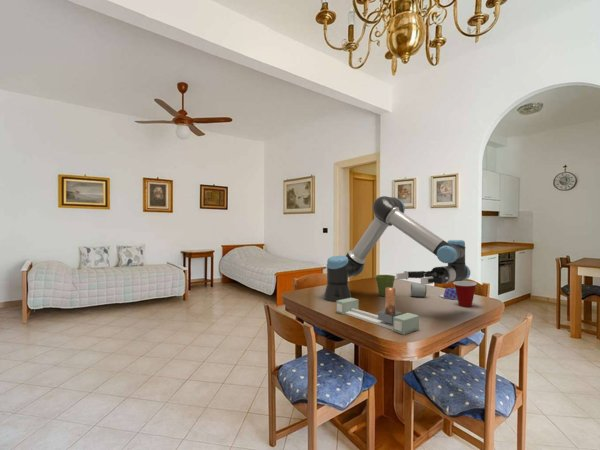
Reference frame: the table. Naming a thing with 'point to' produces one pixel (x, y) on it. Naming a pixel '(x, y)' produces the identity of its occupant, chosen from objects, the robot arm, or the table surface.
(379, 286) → the plant pot
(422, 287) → the ceramic mug
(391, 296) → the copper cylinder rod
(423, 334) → the table surface
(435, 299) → the table surface
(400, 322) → the rail board
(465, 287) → the plastic cup
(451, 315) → the table surface
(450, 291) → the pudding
